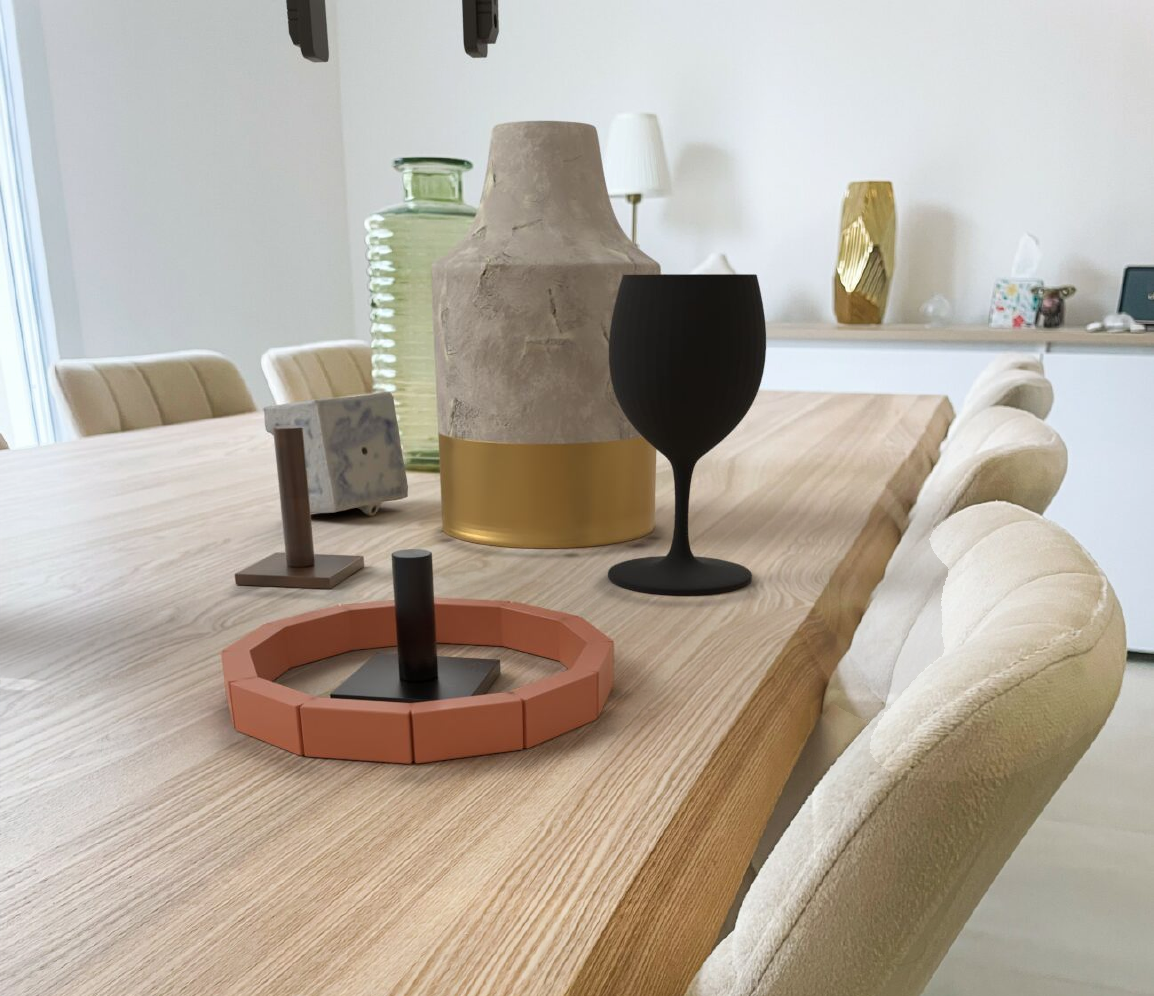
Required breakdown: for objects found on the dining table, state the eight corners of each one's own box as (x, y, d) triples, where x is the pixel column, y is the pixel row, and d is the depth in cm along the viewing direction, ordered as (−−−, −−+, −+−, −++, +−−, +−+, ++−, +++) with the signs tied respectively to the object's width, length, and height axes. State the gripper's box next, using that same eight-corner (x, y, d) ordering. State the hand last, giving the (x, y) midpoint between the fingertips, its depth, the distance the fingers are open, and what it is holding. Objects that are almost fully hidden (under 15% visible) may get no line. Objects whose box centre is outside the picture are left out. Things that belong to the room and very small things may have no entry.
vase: (407, 540, 95) (382, 116, 83) (488, 501, 111) (477, 143, 99) (623, 554, 90) (629, 106, 78) (675, 512, 106) (687, 135, 94)
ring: (155, 746, 53) (148, 697, 52) (317, 630, 70) (314, 591, 69) (571, 776, 50) (571, 724, 49) (632, 646, 67) (633, 606, 66)
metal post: (330, 709, 57) (318, 566, 55) (377, 666, 64) (368, 536, 61) (467, 717, 56) (461, 572, 53) (500, 673, 63) (497, 541, 60)
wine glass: (581, 570, 85) (581, 274, 77) (700, 555, 89) (712, 274, 81) (654, 602, 76) (662, 274, 68) (782, 584, 81) (803, 274, 73)
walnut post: (235, 584, 81) (217, 431, 77) (276, 562, 87) (261, 420, 83) (330, 589, 80) (316, 433, 76) (364, 566, 86) (354, 421, 82)
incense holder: (348, 500, 112) (339, 387, 108) (412, 508, 108) (405, 392, 104) (270, 515, 105) (258, 395, 100) (335, 525, 100) (325, 400, 96)
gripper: (187, -385, 50) (231, 49, 56) (506, -418, 48) (515, 39, 54) (260, -306, 57) (292, 74, 63) (543, -331, 55) (547, 66, 61)
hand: (395, 58), depth 59 cm, fingers open, 8 cm apart
